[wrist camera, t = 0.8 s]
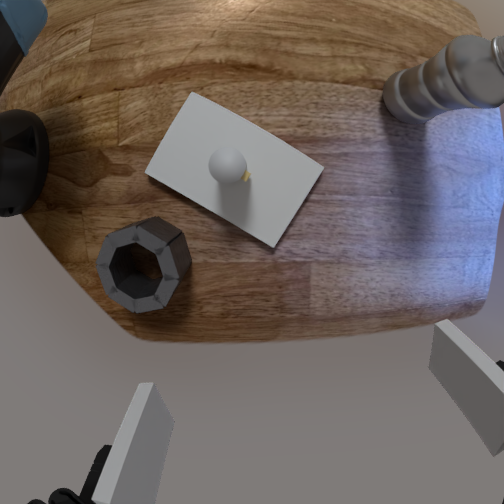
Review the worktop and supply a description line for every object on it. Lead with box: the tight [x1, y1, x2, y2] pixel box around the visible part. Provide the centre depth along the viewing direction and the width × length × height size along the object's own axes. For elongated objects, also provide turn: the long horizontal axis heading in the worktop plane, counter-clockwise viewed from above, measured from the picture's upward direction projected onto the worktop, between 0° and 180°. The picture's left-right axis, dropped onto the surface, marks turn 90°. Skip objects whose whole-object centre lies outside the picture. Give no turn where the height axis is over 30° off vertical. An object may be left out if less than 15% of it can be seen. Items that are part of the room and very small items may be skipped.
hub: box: [96, 216, 192, 313], centre depth 30 cm, size 8×8×6 cm
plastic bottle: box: [383, 35, 504, 124], centre depth 18 cm, size 6×7×20 cm
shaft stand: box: [145, 92, 324, 248], centre depth 26 cm, size 16×10×8 cm, turn 59°
